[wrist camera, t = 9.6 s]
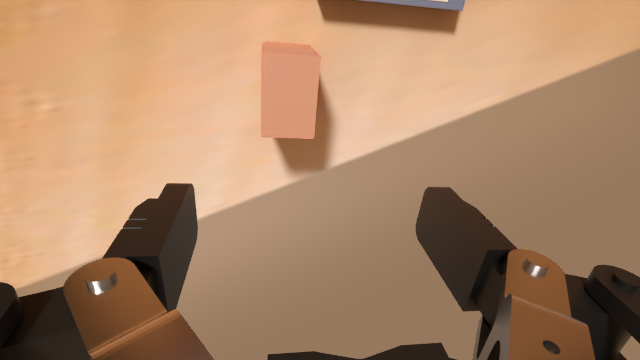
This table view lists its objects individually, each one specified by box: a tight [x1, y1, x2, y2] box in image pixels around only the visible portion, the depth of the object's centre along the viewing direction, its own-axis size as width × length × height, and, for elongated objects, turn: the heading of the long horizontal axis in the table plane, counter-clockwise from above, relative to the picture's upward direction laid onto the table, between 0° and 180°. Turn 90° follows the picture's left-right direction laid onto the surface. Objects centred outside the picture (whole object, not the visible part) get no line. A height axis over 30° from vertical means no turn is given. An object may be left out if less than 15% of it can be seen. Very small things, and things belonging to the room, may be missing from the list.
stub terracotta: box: [261, 42, 321, 139], centre depth 27 cm, size 4×6×7 cm, turn 175°
